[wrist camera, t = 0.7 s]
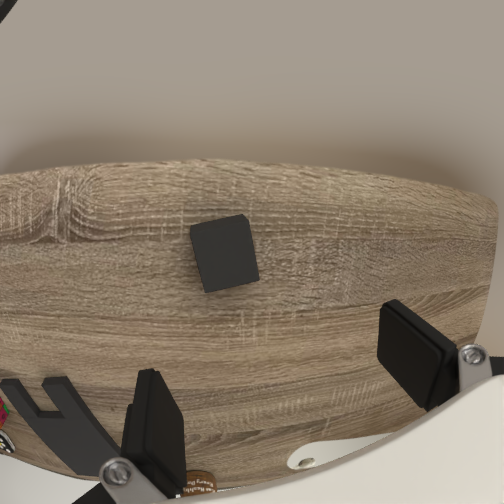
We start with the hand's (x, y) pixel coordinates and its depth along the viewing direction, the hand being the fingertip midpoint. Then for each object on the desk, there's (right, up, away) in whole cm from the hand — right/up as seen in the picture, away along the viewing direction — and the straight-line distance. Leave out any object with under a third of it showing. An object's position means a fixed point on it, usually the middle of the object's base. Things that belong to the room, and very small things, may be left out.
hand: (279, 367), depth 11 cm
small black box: (-4, +5, +14) cm, 15 cm away
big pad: (-27, -22, +18) cm, 39 cm away
